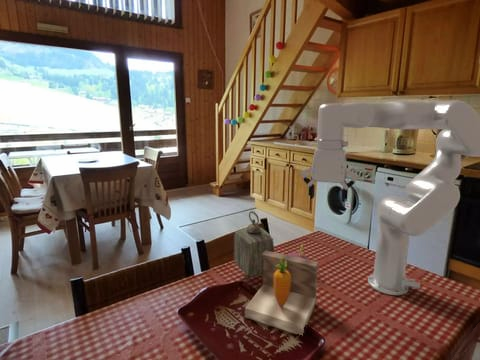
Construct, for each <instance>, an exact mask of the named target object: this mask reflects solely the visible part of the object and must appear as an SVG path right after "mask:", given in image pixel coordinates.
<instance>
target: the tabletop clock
mask: <svg viewBox="0 0 480 360" xmlns="http://www.w3.org/2000/svg"><path fill="white" fill-rule="evenodd" d="M251 214H253V215H254V216H255V218H256V219H257V222H256V219H252V218H251ZM248 218H249V221H250V222H251V223H250V224H248V225H247V226H246V227H245V228H239V229H238V230H236V231H235V232H234V234H233V259H234V262H235V264H236V266H237V267H238V268H239V269H240V270H241V271H242V272H243V273H244V274H245V275H244V278H245V280H246V281H247V280H250V277H257V276H261V277H262V278H263V273H264V259H262V253H263V252H264V251H265V250H266V251H271V252H275V248H274V247H275V245H274V238H273V237H272V235H271V234H270V232H267V231H266V230H265V229H263V228H262V227H260V225H259V224H260V223H259V222H260V220H259V219H260V218H259V215H258V214H257V213H256V212H255V211H253V210H251V211H249V213H248Z"/></svg>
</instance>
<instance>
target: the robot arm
mask: <svg viewBox="0 0 480 360" xmlns="http://www.w3.org/2000/svg"><path fill="white" fill-rule="evenodd" d="M345 128H352V129H364V128H380V129H381V128H382V129H387V130H441V131H439V133H438V134H437V136H436V140H435V156H434V158H433V160H432V161H431V162H430V163H429V164H428V165H427V166H426V167H425V168H424V169H422V171H420V172H419V173H418V174H417V175H416V176H414V177H413V178H412V179H411V180H410V181H409V182H408V183H407V184H406V186H405V190H404V191H405V195H406V196H407V198H408V199H409V200H408V199H406V198H403V197H400V196H398V195H389V196H386V197H384V198H383V199H381V201H380V202H379V204H378V206H377V212H376V213H377V225H378V227H377V229H378V230H377V240H376V249H375V256H374V257H375V258H374V267H373V273H372V274H370V275H368V277H367V283H368V284H369V286H370V287H371V288H373V289H374V290H376V291H377V292H380V293H383V294H385V295H389V296H401V295H405V294H407V293H408V292H409V288H412V289H417V290H420V288H421V283H420V282H417V281H416V279H414V278H408V276H407V275H406V269H407V261H408V254H409V247H410V240H411V239H410V238H411V237H419V236H422V235H424V234H425V233H427V232H428V231H430V230H431V229H433V228H434V227H435V226H436V225H438V223H440V222H441V221H442V220H443V219H444V218H446V217H447V216H448V215H450V213H452V211H454V209H455V208H456V207H457V206H458V204H459V202H460V199H461V192H460V188H458V186H457V184H454V183H453V182H454V181H455V180H456V179H457V178H458V177H459V176H460V174H461V171H462V156H466V157H467V156H468V157H474V158H475V157H477V158H478V157H480V114H478V112H476V110H474V108H473V107H472V106H470V105H469V104H468V103H466V102H465V101H462V100H458V99H457V100H456V99H453V100H397V101H388V102H375V103H367V102H363V101H357V102H355V101H354V102H346V103H343V104H342V103H335V102H334V103H323V104H320V105H319V107H318V116H317V138H316V139H317V142H316V144H317V145H316V149H314V152H313V157H312V163H311V167H309V168H307V169H304V170H301V172H300V175H301V178H302V179H303V182H305V184H306V185H307V186H308V196H309V199H310V200H312V199H313V200H314V198H315V188H316V187H315V186H316V185H315V183H316V182H319V183H320V182H321V183H331V184H333V183H334V184H340V185H341V186H342V190H341V202H342V203H345V202H346V200H348V195H349V191H348V190H349V189H350V188H351V187H353V185H354V184H355V183H356V182H357V180H358V178H359V175H358V174H357V173H356V172H353V171H352V170H350V169H348V168H347V165H348V163H347V162H348V161H347V160H348V159H347V152H346V149H343V148H346V147H349V141H345V140H344V137H345V136H344V132H345ZM309 173H310V174H311V177H310V178H311V179H310V178H309V177H308V174H309ZM347 176H349V177H351V178H352V179H351V180H350V181H349V182H347V181H346V179H347ZM412 201H413V202H412ZM410 236H411V237H410Z"/></svg>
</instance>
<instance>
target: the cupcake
mask: <svg viewBox="0 0 480 360" xmlns="http://www.w3.org/2000/svg"><path fill="white" fill-rule="evenodd" d="M303 247H304V243H301V246H300V250H299V252H298V251H297V252H294V251H293V252H290V253H288V254H287V255H289V256H294V257H298V258H303V259H308V260H309V258H308V256H307V255H305V253H303V249H304V248H303Z"/></svg>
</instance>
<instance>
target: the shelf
mask: <svg viewBox="0 0 480 360" xmlns="http://www.w3.org/2000/svg"><path fill="white" fill-rule="evenodd" d="M279 258H282V261H283V264H284V262H285V261H287V267H286V270H287V271H288V272H289V273H290V274H291V285H290V292H289V296H288V299H287V301H286V303H285V304H284V306H283V307H280V306H279V304H278V302H277V300H276V297H275V292H274V273H275V272H276V271H277V270H280V269H279V268H277V267H276V265H278V264H280V266H281V263H280V260H279ZM262 259H264V273H263V277H262V279H263V280H262V281H263V282H262V285H261V286H260V288H259V289H258V290H257V292H256V293H255V295H253V296H252V299H251V300H250V301H249V302H248V304H247V305H246V306H245V308H244V318H246V319H249V320H252V321H256V322H258V323H262V324H264V325H268V326H271V327H274V328H276V329H279V330H283V331H285V332H289V333H292V334H295V335H297V334H299V336H300V335H302V336H301V337H303V335H304V334H303V333H305V331H304V327H305V325H307V326H308V324H309V321H310V318H311V316H312V314H313V311H314V308H315V306H316V303H317V290H318V289H317V286H318V271H319V262H318V261H315V260H311V259H309V258H308V259H303V258H298V257H294V256H289V255H288V254H284V253H279V252H275V251H274V252H271V251H266V250H265V251H264V252H263V253H262Z"/></svg>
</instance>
